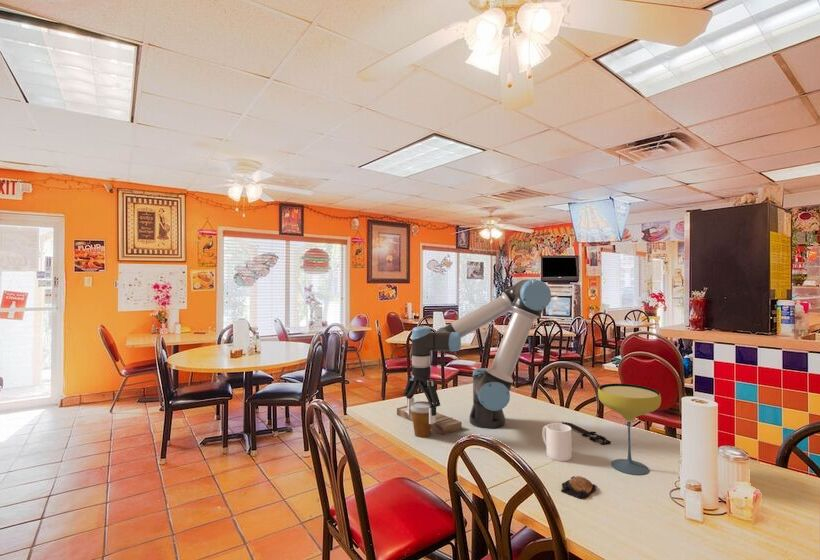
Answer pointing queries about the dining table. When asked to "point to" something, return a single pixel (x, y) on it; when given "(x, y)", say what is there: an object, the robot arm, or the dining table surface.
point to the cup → (558, 441)
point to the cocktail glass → (629, 414)
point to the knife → (585, 433)
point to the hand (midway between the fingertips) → (421, 418)
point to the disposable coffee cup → (421, 418)
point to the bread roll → (578, 487)
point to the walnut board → (441, 422)
